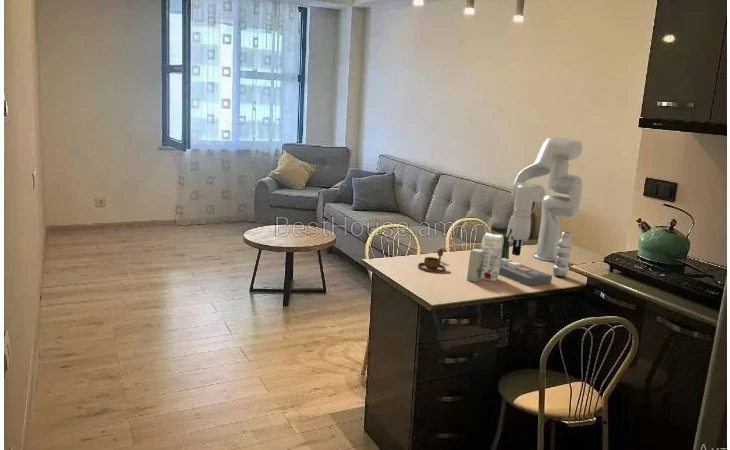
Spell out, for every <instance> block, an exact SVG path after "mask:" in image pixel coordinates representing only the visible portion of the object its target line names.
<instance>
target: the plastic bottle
mask: <svg viewBox="0 0 730 450" xmlns="http://www.w3.org/2000/svg"><path fill="white" fill-rule="evenodd" d="M571 234H572V233H571V232H568V231H561V235H560V237H559V240H558V242H557V256H556V261H554V265H553V268H552V273H553V275H554V276H556V277H558V278H559V277H560V278H566V277H567V276H568V274H569V259H570V254H571V250H572V247H573V243H572V241H571V237H572V236H571Z"/></svg>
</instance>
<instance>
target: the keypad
mask: <svg viewBox="0 0 730 450" xmlns="http://www.w3.org/2000/svg"><path fill="white" fill-rule="evenodd" d="M511 262H514V261H513V260H511ZM507 266H508V265H502V264H501V265H500V272H499V275H500V276H503V277H504V278H507V279H510V280H512V281H515V282H516V283H517V282H518V283H519V284H521V285H525V286H527V287H530V286H539V285H546V284H552V279H553V275H551V274H548V273H546V272H542V271H539V270H537V269H535V268H532V267H530V266H527V265H523V264H521V268H527V269H529V270H531V272H534V271H535V272H537V273H540V274H542V275H541V276H540V277H533V276H531V275H528V274H526V273H523V272H520V271H518V270H517V269H512V268H510V267H507Z"/></svg>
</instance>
